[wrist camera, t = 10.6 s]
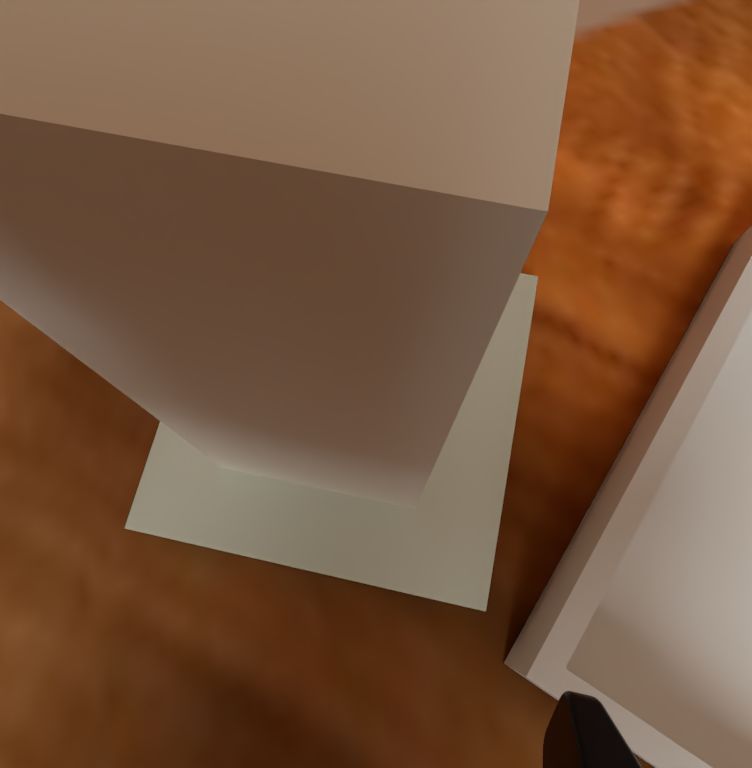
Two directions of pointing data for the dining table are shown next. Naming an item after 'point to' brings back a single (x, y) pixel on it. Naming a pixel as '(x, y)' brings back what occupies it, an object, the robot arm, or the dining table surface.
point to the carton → (280, 212)
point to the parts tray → (668, 557)
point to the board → (356, 514)
